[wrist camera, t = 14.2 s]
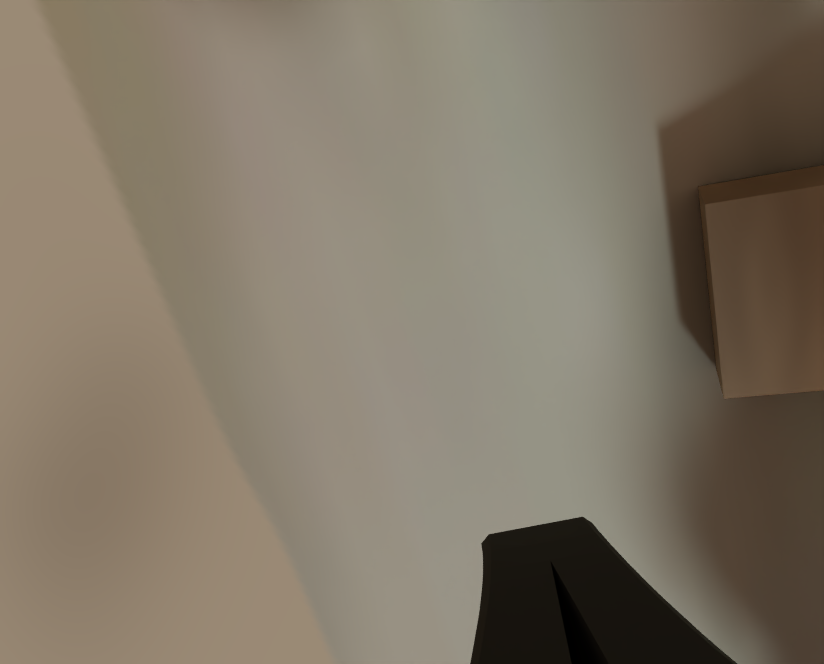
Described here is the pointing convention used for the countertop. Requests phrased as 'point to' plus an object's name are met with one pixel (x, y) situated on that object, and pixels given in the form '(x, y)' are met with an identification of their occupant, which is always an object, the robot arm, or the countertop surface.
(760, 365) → the brown flat rectangular block
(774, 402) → the countertop surface
